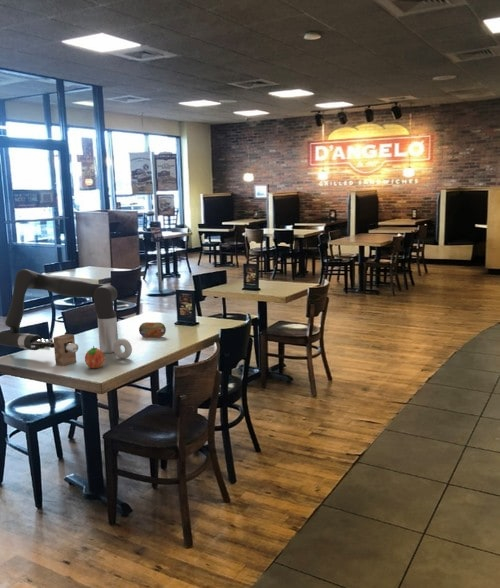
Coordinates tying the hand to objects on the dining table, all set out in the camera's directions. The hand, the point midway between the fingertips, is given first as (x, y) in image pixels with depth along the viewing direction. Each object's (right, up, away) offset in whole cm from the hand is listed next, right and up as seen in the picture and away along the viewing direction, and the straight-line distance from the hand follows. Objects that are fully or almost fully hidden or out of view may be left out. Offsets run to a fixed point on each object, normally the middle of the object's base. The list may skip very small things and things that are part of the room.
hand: (54, 345), depth 276 cm
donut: (+32, -7, +2) cm, 33 cm away
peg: (+8, -2, -4) cm, 9 cm away
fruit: (+22, -9, -11) cm, 27 cm away
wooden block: (+6, -8, -2) cm, 10 cm away
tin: (+39, 0, +45) cm, 60 cm away
